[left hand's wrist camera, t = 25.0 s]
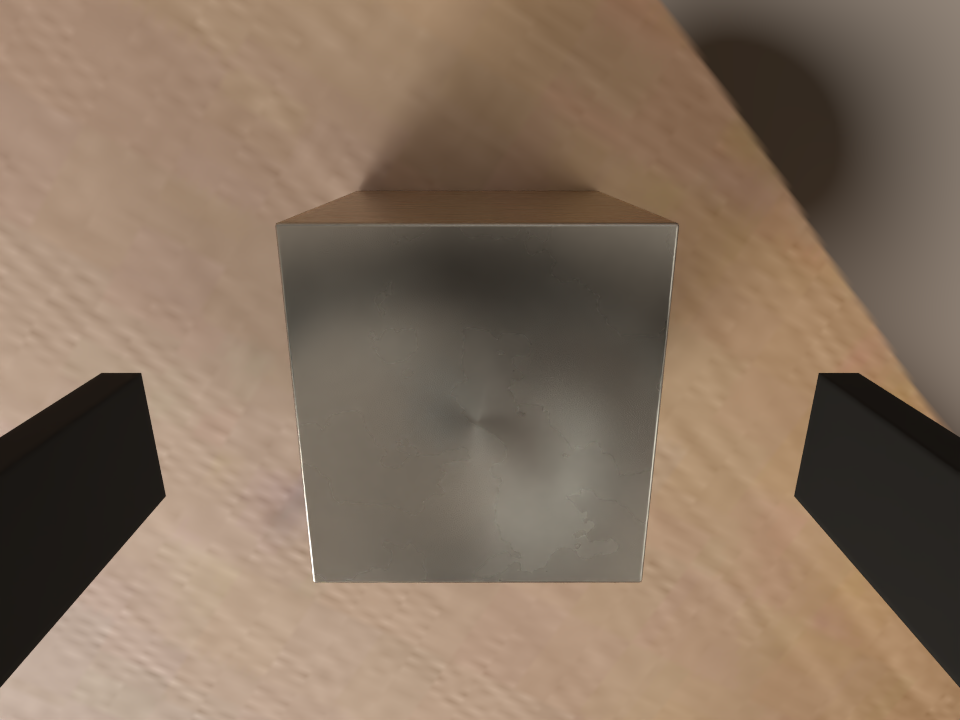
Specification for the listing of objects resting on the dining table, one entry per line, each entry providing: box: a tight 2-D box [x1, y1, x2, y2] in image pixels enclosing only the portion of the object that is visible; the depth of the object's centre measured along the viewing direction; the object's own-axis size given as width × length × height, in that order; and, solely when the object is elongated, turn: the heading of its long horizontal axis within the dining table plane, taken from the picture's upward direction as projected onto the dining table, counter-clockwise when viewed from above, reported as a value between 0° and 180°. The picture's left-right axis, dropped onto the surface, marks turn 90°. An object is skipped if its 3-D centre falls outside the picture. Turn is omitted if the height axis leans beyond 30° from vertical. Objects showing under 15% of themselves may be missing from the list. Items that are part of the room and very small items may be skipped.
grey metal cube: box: [276, 191, 679, 583], centre depth 18 cm, size 8×9×9 cm
